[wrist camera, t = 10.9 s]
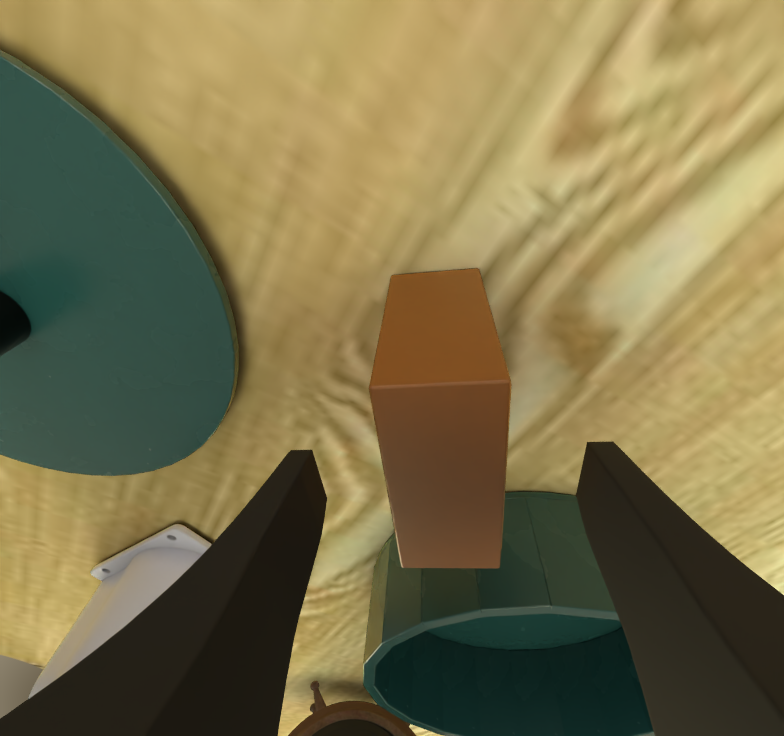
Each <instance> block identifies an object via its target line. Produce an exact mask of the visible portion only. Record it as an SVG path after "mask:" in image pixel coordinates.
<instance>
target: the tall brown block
mask: <svg viewBox="0 0 784 736" xmlns="http://www.w3.org/2000/svg"><path fill="white" fill-rule="evenodd" d="M369 392H370V398H371V403H372V409H373V414H374V420H375V425H376V431H377V436H378V442H379V447H380V453H381V459H382V464H383V470H384V475H385V481H386V486H387V492H388V497H389V503H390V508H391V514H392V519H393V525H394V531H395V536H396V542H397V547H398V552H399V558H400V563H401V567H403V568H500V559H501V549H502V533H503V516H504V500H505V483H506V466H507V450H508V433H509V417H510V400H511V380H510V376H509V373H508V369H507V366H506V362H505V359H504V355H503V352H502V348H501V345H500V341H499V338H498V334H497V330H496V327H495V323H494V320H493V316H492V313H491V309H490V306H489V302H488V299H487V295H486V292H485V288H484V285H483V281H482V278H481V274H480V271H479V269H478V268H475V269H463V270H451V271H439V272H426V273H414V274H402V275H392V276H391V280H390V285H389V290H388V295H387V300H386V305H385V310H384V315H383V320H382V325H381V330H380V335H379V340H378V345H377V350H376V355H375V360H374V365H373V370H372V375H371V380H370V385H369Z"/></svg>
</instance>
